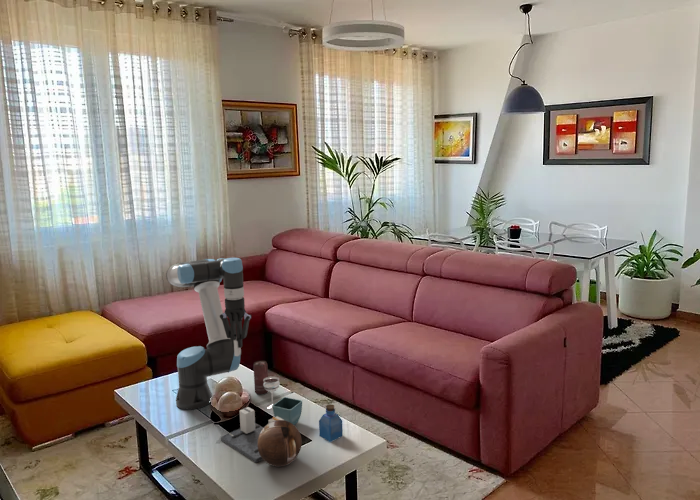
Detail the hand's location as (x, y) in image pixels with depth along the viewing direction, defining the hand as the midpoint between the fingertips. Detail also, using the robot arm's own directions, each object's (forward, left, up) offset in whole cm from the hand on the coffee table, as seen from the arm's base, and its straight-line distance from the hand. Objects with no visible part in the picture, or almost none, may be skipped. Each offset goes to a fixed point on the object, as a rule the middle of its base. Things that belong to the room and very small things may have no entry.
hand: (237, 354), depth 217 cm
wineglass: (+9, +11, -27) cm, 30 cm away
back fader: (+9, -13, -25) cm, 29 cm away
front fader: (+22, -17, -25) cm, 37 cm away
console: (+14, -18, -26) cm, 35 cm away
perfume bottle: (+40, -7, -27) cm, 49 cm away
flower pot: (+21, -2, -27) cm, 34 cm away
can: (-1, +23, -27) cm, 35 cm away
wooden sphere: (+28, -28, -27) cm, 48 cm away
